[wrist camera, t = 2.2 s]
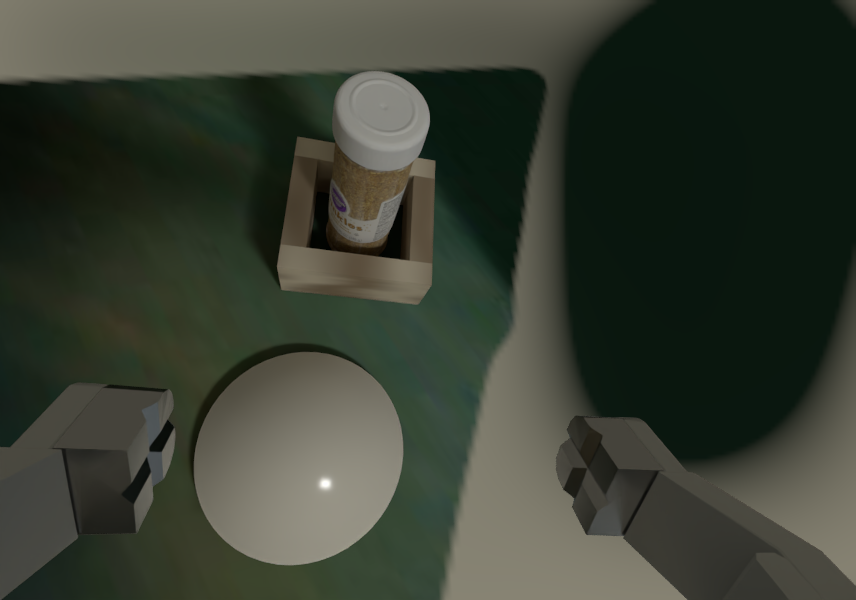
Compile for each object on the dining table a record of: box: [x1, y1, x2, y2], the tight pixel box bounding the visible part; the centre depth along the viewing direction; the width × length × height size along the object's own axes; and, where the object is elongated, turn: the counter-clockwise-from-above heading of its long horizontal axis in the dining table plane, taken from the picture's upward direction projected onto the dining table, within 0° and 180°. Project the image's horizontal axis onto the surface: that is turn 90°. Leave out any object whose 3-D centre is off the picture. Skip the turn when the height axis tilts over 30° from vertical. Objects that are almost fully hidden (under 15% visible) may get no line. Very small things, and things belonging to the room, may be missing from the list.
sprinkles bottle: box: [326, 71, 430, 257], centre depth 27 cm, size 5×5×13 cm
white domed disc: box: [194, 352, 403, 565], centre depth 27 cm, size 12×12×1 cm
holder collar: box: [277, 137, 435, 304], centre depth 31 cm, size 10×10×4 cm
